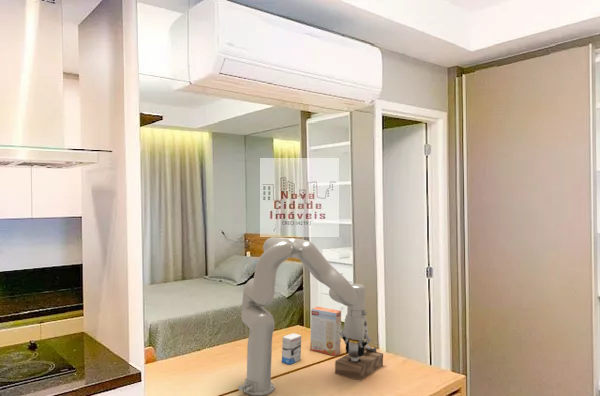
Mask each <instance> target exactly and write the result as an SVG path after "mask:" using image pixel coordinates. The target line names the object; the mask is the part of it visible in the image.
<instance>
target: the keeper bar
mask: <svg viewBox="0 0 600 396" xmlns="http://www.w3.org/2000/svg"><path fill="white" fill-rule="evenodd" d="M364 348H365V349H366V350H368V351H372V352H373V348H374V347H372V346H370V345H368V344H367V345H366V346H364Z"/></svg>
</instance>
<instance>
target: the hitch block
mask: <svg viewBox="0 0 600 396" xmlns="http://www.w3.org/2000/svg"><path fill="white" fill-rule="evenodd" d="M372 348H373V352H372V351H368V350H366V349H365V348H364V355H363V356H361V357H359V362H357V363H354V362H351V356H349V355H348V353H346V355H344V356H342V357H340V358H338V359H336V360H335V363H334V374H336V375H339V376H343V377H345V378H349V379H352V380H356V381H358V382H359V381H361V380H364V379H365V378H366V377H368V376H369V375H370V374H372V373H374V372H375V371H377V370H378V369H380V368H381V367H383V366H384V365H383V364H384V353H382V352H378V351H377V347H375V346H374V347H372Z"/></svg>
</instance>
